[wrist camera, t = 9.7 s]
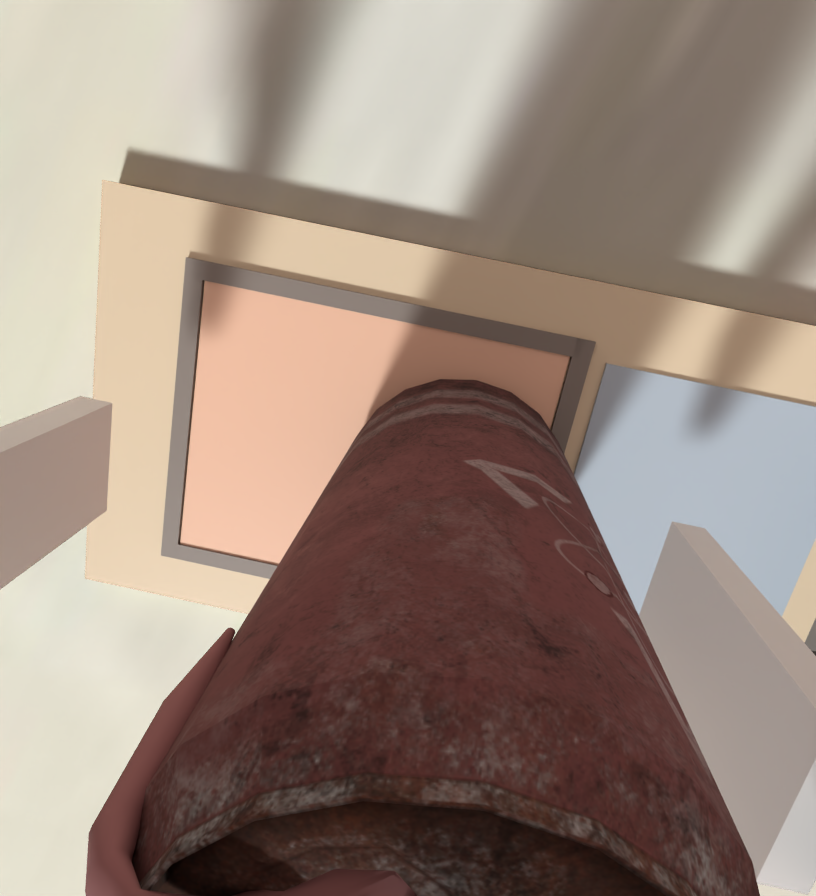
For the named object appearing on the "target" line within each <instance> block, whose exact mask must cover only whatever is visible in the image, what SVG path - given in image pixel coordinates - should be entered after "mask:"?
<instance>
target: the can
mask: <svg viewBox="0 0 816 896" xmlns="http://www.w3.org/2000/svg"><path fill="white" fill-rule="evenodd" d="M234 634H235V630H234V629H233V628H228V629H227V630H226V631H225V632H224V633H223V634H222V635H221V636H220V638H219V639H218V640H217V641H216V642H215V643H214V644H213V646H212V647H211V648H210V649H209V650H208V651H207V652H206V653H205V655H204V656H203V657H202V658H201V659H200V660H199V661H198V663H197V664H196V665H195V666H194V667H193V668H192V669H191V670H190V672H189V673H188V674H187V675H186V676H185V677H184V678H183V680H182V681H181V682H180V683H179V684H178V685H177V686H176V688H175V689H174V690H173V691H172V692H171V693H170V694H169V695H168V697H167V698H166V699H165V700H164V701H163V703H162V705H161V707H160V708H159V710H158V712H157V713H156V715H155V717H154V719H153V720H152V722H151V724H150V726H149V727H148V729H147V731H146V733H145V734H144V736H143V738H142V740H141V741H140V743H139V745H138V747H137V748H136V750H135V752H134V754H133V755H132V757H131V759H130V761H129V762H128V764H127V766H126V768H125V769H124V771H123V773H122V775H121V776H120V778H119V780H118V782H117V783H116V785H115V787H114V789H113V790H112V792H111V794H110V796H109V797H108V799H107V801H106V803H105V804H104V806H103V808H102V810H101V811H100V813H99V815H98V816H97V818H96V820H95V822H94V823H93V825H92V827H91V830H90V832H89V841H88V857H87V873H86V889H85V892H86V896H760V894H759V890H758V885H757V881H756V876H755V872H754V867H753V863H752V860H751V858H750V856H749V854H748V851H747V849H746V847H745V845H744V843H743V841H742V838H741V836H740V834H739V832H738V830H737V828H736V825H735V823H734V821H733V819H732V817H731V815H730V812H729V810H728V808H727V806H726V804H725V802H724V799H723V797H722V795H721V793H720V791H719V789H718V786H717V784H716V782H715V780H714V778H713V776H712V773H711V771H710V769H709V767H708V765H707V763H706V760H705V758H704V756H703V754H702V752H701V749H700V747H699V745H698V743H697V741H696V739H695V736H694V734H693V732H692V730H691V728H690V726H689V723H688V721H687V719H686V717H685V715H684V713H683V710H682V708H681V706H680V704H679V702H678V700H677V697H676V695H675V693H674V691H673V689H672V687H671V684H670V682H669V680H668V678H667V676H666V674H665V671H664V669H663V667H662V665H661V663H660V661H659V658H658V656H657V654H656V652H655V650H654V648H653V645H652V643H651V641H650V639H649V637H648V635H647V632H646V630H645V628H644V626H643V624H642V622H641V619H640V617H639V615H638V613H637V611H636V609H635V606H634V604H633V602H632V600H631V598H630V596H629V593H628V591H627V589H626V587H625V585H624V583H623V580H622V578H621V576H620V574H619V572H618V570H617V567H616V565H615V563H614V561H613V559H612V557H611V554H610V552H609V550H608V548H607V546H606V544H605V541H604V539H603V537H602V535H601V533H600V531H599V528H598V526H597V524H596V522H595V520H594V518H593V515H592V513H591V511H590V509H589V507H588V505H587V502H586V500H585V498H584V496H583V494H582V492H581V489H580V487H579V485H578V483H577V481H576V479H575V476H574V474H573V472H572V470H571V468H570V466H569V463H568V461H567V459H566V457H565V455H564V453H563V450H562V448H561V446H560V444H559V442H558V440H557V439H556V437H555V436H554V435H553V433H552V432H551V430H550V429H549V427H548V426H547V424H546V423H545V421H544V420H543V418H542V417H541V415H540V414H539V413H538V412H537V411H535V410H534V409H533V408H531V407H530V406H529V405H527V404H526V403H525V402H523V401H522V400H521V399H520V398H518V397H517V396H516V395H514V394H513V393H512V392H510V391H507V390H504V389H501V388H498V387H495V386H492V385H490V384H487V383H484V382H481V381H478V380H458V379H438V380H435V381H432V382H428V383H425V384H422V385H418V386H415V387H411V388H408V389H405V390H404V391H402V392H401V393H399V394H398V395H396V396H395V397H393V398H392V399H391V400H389V401H388V402H386V403H385V404H383V405H382V406H380V407H379V408H378V409H376V411H375V412H374V413H373V415H372V416H371V417H370V419H369V420H368V421H367V423H366V424H365V425H364V427H363V428H362V429H361V431H360V432H359V433H358V435H357V436H356V438H355V439H354V441H353V443H352V444H351V446H350V448H349V449H348V451H347V453H346V454H345V456H344V458H343V459H342V461H341V463H340V464H339V466H338V467H337V469H336V471H335V472H334V474H333V476H332V477H331V479H330V481H329V482H328V484H327V486H326V487H325V489H324V491H323V492H322V494H321V495H320V497H319V499H318V500H317V502H316V504H315V505H314V507H313V509H312V510H311V512H310V514H309V515H308V517H307V519H306V520H305V522H304V524H303V525H302V527H301V528H300V530H299V532H298V533H297V535H296V537H295V538H294V540H293V542H292V543H291V545H290V547H289V548H288V550H287V552H286V553H285V555H284V556H283V558H282V560H281V561H280V563H279V565H278V566H277V568H276V570H275V571H274V573H273V575H272V576H271V578H270V580H269V581H268V583H267V584H266V586H265V588H264V589H263V591H262V593H261V594H260V596H259V598H258V599H257V601H256V603H255V604H254V606H253V608H252V609H251V611H250V612H249V614H248V616H247V617H246V619H245V621H244V622H243V624H242V626H241V627H240V629H239V631H238V632H237V634H236V636H235V637H234ZM233 637H234V639H233ZM232 639H233V640H232Z"/></svg>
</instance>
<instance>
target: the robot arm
mask: <svg viewBox="0 0 816 896" xmlns="http://www.w3.org/2000/svg"><path fill="white" fill-rule="evenodd" d="M111 422H112V403H110V402H106V401H101V400H96V399H91V398H87V397H82V396H80V397H77V398H74V399H72V400H69V401H67V402H64V403H62V404H59V405H56V406H54V407H51V408H49V409H46V410H44V411H41V412H38V413H36V414H33V415H31V416H28V417H26V418H23V419H20V420H18V421H15V422H13V423H10V424H7V425H5V426H2V427H0V589H1V588H3V587H4V586H5V585H7V584H8V583H9V582H11V581H12V580H14V579H15V578H16V577H18V576H19V575H20V574H22V573H23V572H24V571H26V570H27V569H28V568H30V567H31V566H32V565H34V564H35V563H37V562H38V561H39V560H41V559H42V558H43V557H45V556H46V555H47V554H49V553H50V552H51V551H53V550H54V549H55V548H57V547H58V546H60V545H61V544H62V543H64V542H65V541H66V540H68V539H69V538H70V537H72V536H73V535H74V534H76V533H77V532H78V531H80V530H81V529H83V528H84V527H85V526H87V525H88V524H89V523H91V522H92V521H93V520H95V519H96V518H97V517H99V516H100V515H102V514H103V513H104V512H106V511H107V496H108V478H109V459H110V440H111ZM639 617H640V619H641V622H642V624H643V626H644V628H645V630H646V632H647V635H648V637H649V639H650V641H651V643H652V645H653V648H654V650H655V652H656V654H657V656H658V658H659V661H660V663H661V665H662V667H663V669H664V671H665V674H666V676H667V678H668V680H669V682H670V684H671V687H672V689H673V691H674V693H675V695H676V697H677V700H678V702H679V704H680V706H681V708H682V710H683V713H684V715H685V717H686V719H687V721H688V723H689V726H690V728H691V730H692V732H693V734H694V736H695V739H696V741H697V743H698V745H699V747H700V749H701V752H702V754H703V756H704V758H705V760H706V763H707V765H708V767H709V769H710V771H711V773H712V776H713V778H714V780H715V782H716V784H717V786H718V789H719V791H720V793H721V795H722V797H723V799H724V802H725V804H726V806H727V808H728V810H729V812H730V815H731V817H732V819H733V821H734V823H735V825H736V828H737V830H738V832H739V834H740V836H741V838H742V841H743V843H744V845H745V847H746V849H747V851H748V854H749V856H750V858H751V860H752V863H753V867H754V872H755V876H756V881H757V883H758V884H762V885H767V886H771V887H776V888H780V889H785V890H789V891H794V892H798V893H803V894H807V895H808V894H809V892H810V890H811V888H812V886H813V884H814V882H815V881H816V651H811V650H810V649H809V648H808V647H807V645H806V644H805V643H804V642H803V641H802V640H801V638H800V637H799V636H798V635H797V634H796V633H795V632H794V630H793V629H792V628H791V627H790V626H789V625H788V623H787V622H786V621H785V620H784V619H783V618H782V617H781V615H780V614H779V613H778V612H777V611H776V610H775V608H774V607H773V606H772V605H771V604H770V603H769V602H768V600H767V599H766V598H765V597H764V596H763V595H762V593H761V592H760V591H759V590H758V589H757V588H756V586H755V585H754V584H753V583H752V582H751V581H750V580H749V578H748V577H747V576H746V575H745V574H744V573H743V571H742V570H741V569H740V568H739V567H738V566H737V565H736V563H735V562H734V561H733V560H732V559H731V558H730V556H729V555H728V554H727V553H726V552H725V551H724V550H723V548H722V547H721V546H720V545H719V544H718V543H717V541H716V540H715V539H714V538H713V537H712V536H711V535H710V533H709V532H708V531H707V530H706V529H705V528H701V527H696V526H692V525H687V524H682V523H677V522H673V521H672V523H671V525H670V528H669V531H668V534H667V537H666V540H665V543H664V545H663V548H662V551H661V554H660V557H659V560H658V562H657V565H656V568H655V571H654V574H653V577H652V579H651V582H650V585H649V588H648V591H647V594H646V596H645V599H644V602H643V605H642V608H641V611H640V614H639Z"/></svg>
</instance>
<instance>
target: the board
mask: <svg viewBox="0 0 816 896" xmlns="http://www.w3.org/2000/svg"><path fill="white" fill-rule="evenodd" d="M438 379H458V380H478V381H481V382H484V383H487V384H490V385H492V386H495V387H498V388H501V389H504V390H507V391H510V392H512V393H513V394H514V395H516V396H517V397H518V398H520V399H521V400H522V401H523V402H525V403H526V404H527V405H529V406H530V407H531V408H533V409H534V410H535V411H537V412H538V413H539V414H540V415H541V417H542V418H543V420H544V421H545V423H546V424H547V426H548V427H549V429H550V430H551V432H552V433H553V435H554V436H555V437H556V439H557V440H558V442H559V444H560V446H561V448H562V450H563V453H564V455H565V457H566V459H567V461H568V463H569V466H570V468H571V470H572V472H573V474H574V476H575V479H576V481H577V483H578V485H579V487H580V489H581V492H582V494H583V496H584V498H585V500H586V502H587V505H588V507H589V509H590V511H591V513H592V515H593V518H594V520H595V522H596V524H597V526H598V528H599V531H600V533H601V535H602V537H603V539H604V541H605V544H606V546H607V548H608V550H609V552H610V554H611V557H612V559H613V561H614V563H615V565H616V567H617V570H618V572H619V574H620V576H621V578H622V580H623V583H624V585H625V587H626V589H627V591H628V593H629V596H630V598H631V600H632V602H633V604H634V606H635V609H636V611H637V613H638V615H639V614H640V611H641V608H642V605H643V602H644V599H645V596H646V594H647V591H648V588H649V585H650V582H651V579H652V577H653V574H654V571H655V568H656V565H657V562H658V560H659V557H660V554H661V551H662V548H663V545H664V543H665V540H666V537H667V534H668V531H669V528H670V525H671V523H672V521H673V522H677V523H682V524H687V525H692V526H696V527H701V528H705V529H706V530H707V531H708V532H709V533H710V535H711V536H712V537H713V538H714V539H715V540H716V541H717V543H718V544H719V545H720V546H721V547H722V548H723V550H724V551H725V552H726V553H727V554H728V555H729V556H730V558H731V559H732V560H733V561H734V562H735V563H736V565H737V566H738V567H739V568H740V569H741V570H742V571H743V573H744V574H745V575H746V576H747V577H748V578H749V580H750V581H751V582H752V583H753V584H754V585H755V586H756V588H757V589H758V590H759V591H760V592H761V593H762V595H763V596H764V597H765V598H766V599H767V600H768V602H769V603H770V604H771V605H772V606H773V607H774V608H775V610H776V611H777V612H778V613H779V614H780V615H781V617H782V618H783V619H784V620H785V621H786V622H787V623H788V625H789V626H790V627H791V628H792V629H793V630H794V632H795V633H796V634H797V635H798V636H799V637H800V638H801V640H802V641H803V642H804V643H805V641H806V638H807V636H808V634H809V632H810V629H811V627H812V625H813V623H814V621H815V618H816V326H814V325H809V324H804V323H799V322H794V321H789V320H784V319H779V318H775V317H770V316H765V315H760V314H755V313H750V312H745V311H740V310H736V309H731V308H726V307H721V306H716V305H711V304H706V303H701V302H697V301H692V300H687V299H682V298H677V297H672V296H667V295H662V294H658V293H653V292H648V291H643V290H638V289H633V288H628V287H623V286H619V285H614V284H609V283H604V282H599V281H594V280H589V279H584V278H580V277H575V276H570V275H565V274H560V273H555V272H550V271H545V270H541V269H536V268H531V267H526V266H521V265H516V264H511V263H506V262H502V261H497V260H492V259H487V258H482V257H477V256H472V255H467V254H463V253H458V252H453V251H448V250H443V249H438V248H433V247H428V246H424V245H419V244H414V243H409V242H404V241H399V240H394V239H389V238H385V237H380V236H375V235H370V234H365V233H360V232H355V231H350V230H345V229H341V228H336V227H331V226H326V225H321V224H316V223H311V222H306V221H302V220H297V219H292V218H287V217H282V216H277V215H272V214H267V213H263V212H258V211H253V210H248V209H243V208H238V207H233V206H228V205H224V204H219V203H214V202H209V201H204V200H199V199H194V198H189V197H185V196H180V195H175V194H170V193H165V192H160V191H155V190H150V189H146V188H141V187H136V186H131V185H126V184H121V183H116V182H111V181H106V180H102V199H101V221H100V244H99V267H98V290H97V313H96V336H95V359H94V382H93V399H96V400H101V401H106V402H110V403H112V422H111V440H110V459H109V478H108V496H107V511H106V512H104V513H103V514H102V515H100V516H99V517H97V518H96V519H95V520H93V521H92V522H91V523H89V524H88V525H87V542H86V565H85V579H89V580H94V581H98V582H103V583H107V584H112V585H117V586H121V587H126V588H130V589H135V590H140V591H144V592H149V593H153V594H158V595H163V596H167V597H172V598H177V599H181V600H186V601H190V602H195V603H200V604H204V605H209V606H213V607H218V608H223V609H227V610H232V611H236V612H241V613H246V614H249V612H250V611H251V609H252V608H253V606H254V604H255V603H256V601H257V599H258V598H259V596H260V594H261V593H262V591H263V589H264V588H265V586H266V584H267V583H268V581H269V580H270V578H271V576H272V575H273V573H274V571H275V570H276V568H277V566H278V565H279V563H280V561H281V560H282V558H283V556H284V555H285V553H286V552H287V550H288V548H289V547H290V545H291V543H292V542H293V540H294V538H295V537H296V535H297V533H298V532H299V530H300V528H301V527H302V525H303V524H304V522H305V520H306V519H307V517H308V515H309V514H310V512H311V510H312V509H313V507H314V505H315V504H316V502H317V500H318V499H319V497H320V495H321V494H322V492H323V491H324V489H325V487H326V486H327V484H328V482H329V481H330V479H331V477H332V476H333V474H334V472H335V471H336V469H337V467H338V466H339V464H340V463H341V461H342V459H343V458H344V456H345V454H346V453H347V451H348V449H349V448H350V446H351V444H352V443H353V441H354V439H355V438H356V436H357V435H358V433H359V432H360V431H361V429H362V428H363V427H364V425H365V424H366V423H367V421H368V420H369V419H370V417H371V416H372V415H373V413H374V412H375V411H376V409H378V408H379V407H380V406H382V405H383V404H385V403H386V402H388V401H389V400H391V399H392V398H393V397H395V396H396V395H398V394H399V393H401V392H402V391H404V390H405V389H408V388H411V387H415V386H418V385H422V384H425V383H428V382H432V381H435V380H438Z"/></svg>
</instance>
